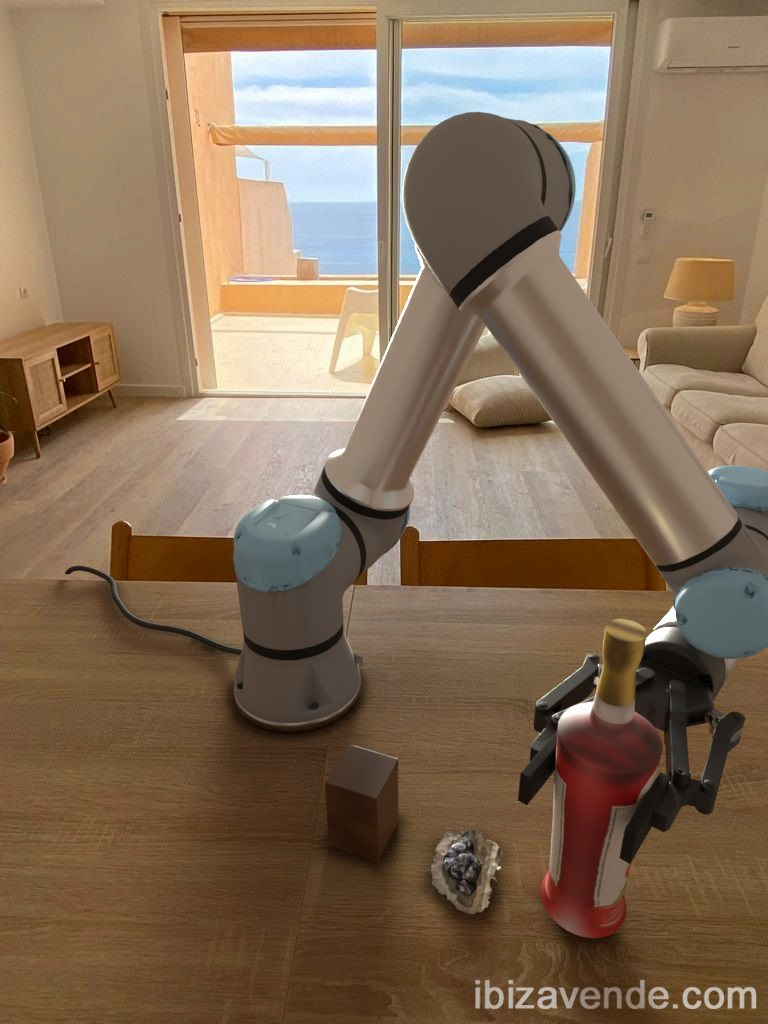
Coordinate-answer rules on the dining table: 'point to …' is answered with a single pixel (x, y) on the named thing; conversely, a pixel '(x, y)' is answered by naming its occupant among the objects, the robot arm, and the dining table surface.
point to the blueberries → (466, 869)
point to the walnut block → (362, 802)
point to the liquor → (599, 791)
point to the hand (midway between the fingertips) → (573, 816)
